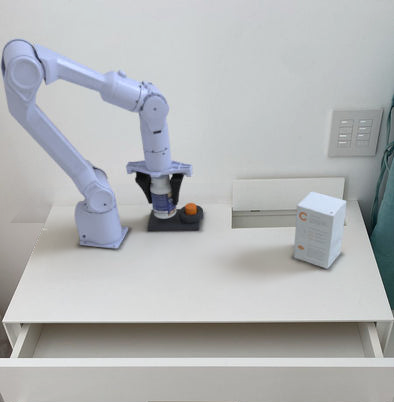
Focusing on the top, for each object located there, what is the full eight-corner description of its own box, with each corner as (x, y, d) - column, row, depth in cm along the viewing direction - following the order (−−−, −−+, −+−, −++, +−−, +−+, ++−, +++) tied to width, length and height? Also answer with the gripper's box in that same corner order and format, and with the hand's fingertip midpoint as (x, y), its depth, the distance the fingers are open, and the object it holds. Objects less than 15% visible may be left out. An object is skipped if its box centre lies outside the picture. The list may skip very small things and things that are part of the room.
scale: (148, 231, 134) (146, 220, 131) (152, 214, 138) (150, 203, 136) (202, 230, 132) (201, 219, 130) (204, 213, 137) (203, 202, 135)
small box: (340, 253, 123) (348, 200, 113) (327, 269, 119) (333, 216, 110) (306, 242, 126) (311, 190, 117) (292, 257, 123) (296, 205, 113)
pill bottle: (174, 219, 131) (170, 181, 124) (151, 219, 132) (146, 181, 125) (178, 206, 135) (174, 168, 128) (156, 206, 135) (150, 168, 128)
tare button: (185, 215, 132) (184, 209, 131) (186, 209, 134) (185, 202, 133) (196, 215, 132) (195, 208, 131) (197, 209, 134) (196, 202, 132)
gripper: (118, 154, 120) (128, 210, 130) (185, 156, 117) (190, 213, 127) (128, 138, 125) (137, 193, 134) (192, 140, 122) (197, 196, 132)
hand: (163, 202), depth 131 cm, fingers closed on pill bottle, 5 cm apart
